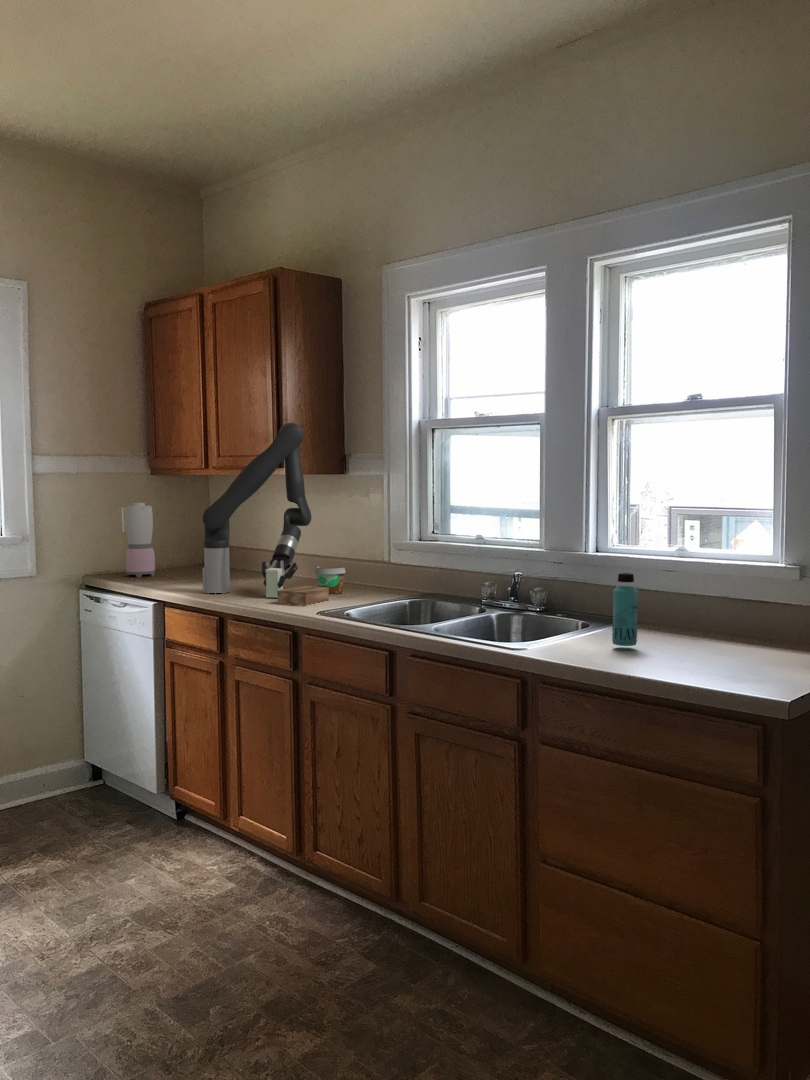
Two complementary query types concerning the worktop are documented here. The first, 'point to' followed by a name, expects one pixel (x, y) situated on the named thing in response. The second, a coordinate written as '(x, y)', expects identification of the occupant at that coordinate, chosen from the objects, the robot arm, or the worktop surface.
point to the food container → (331, 579)
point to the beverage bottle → (625, 612)
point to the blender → (139, 540)
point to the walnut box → (303, 595)
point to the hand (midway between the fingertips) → (272, 585)
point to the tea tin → (273, 582)
